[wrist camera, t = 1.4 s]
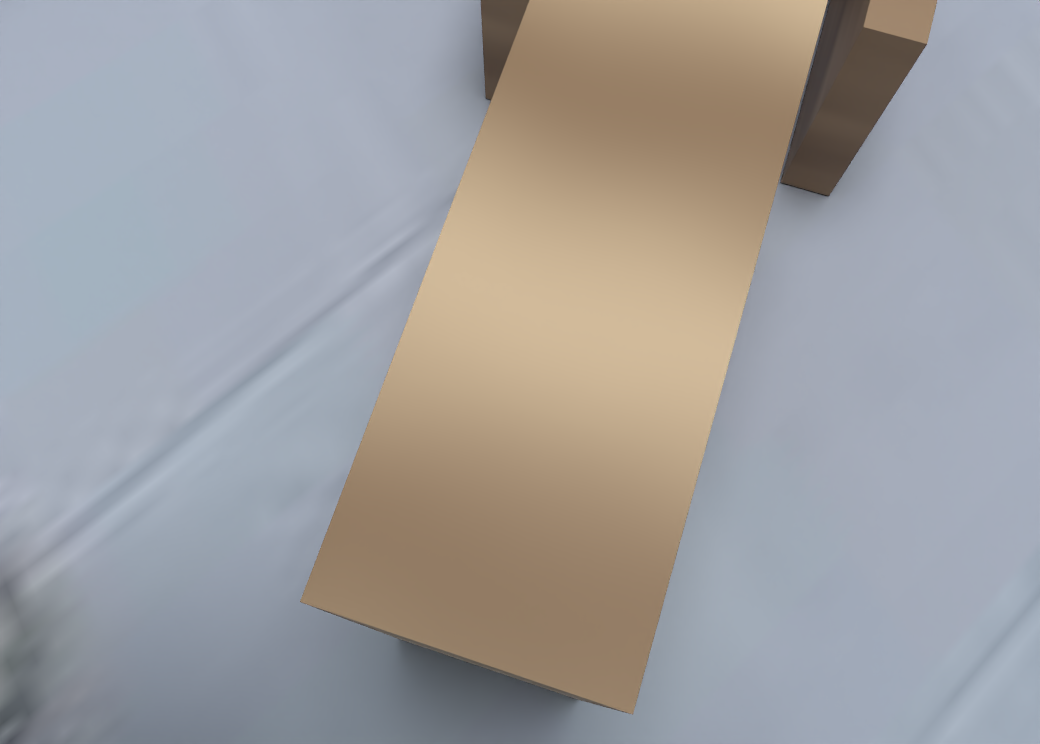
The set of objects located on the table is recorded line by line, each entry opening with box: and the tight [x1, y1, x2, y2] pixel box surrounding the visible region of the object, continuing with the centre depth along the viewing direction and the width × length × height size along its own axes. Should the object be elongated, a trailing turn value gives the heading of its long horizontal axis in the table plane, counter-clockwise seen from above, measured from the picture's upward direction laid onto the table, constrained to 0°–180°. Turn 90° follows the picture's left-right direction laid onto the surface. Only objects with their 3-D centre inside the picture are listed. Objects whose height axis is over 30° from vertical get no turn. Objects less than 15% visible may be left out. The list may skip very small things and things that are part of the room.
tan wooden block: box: [300, 0, 828, 714], centre depth 18 cm, size 12×4×10 cm, turn 162°
